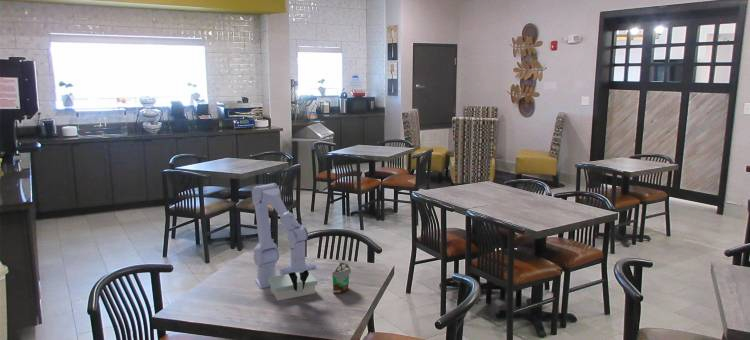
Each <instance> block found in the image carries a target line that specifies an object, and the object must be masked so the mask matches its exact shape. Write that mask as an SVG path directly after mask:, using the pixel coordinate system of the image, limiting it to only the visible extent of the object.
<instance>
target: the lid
mask: <svg viewBox="0 0 750 340" xmlns="http://www.w3.org/2000/svg"><path fill="white" fill-rule="evenodd" d="M296 275H297V291H296V292H297V293H298V292H303V282H302V281H301V280H300V273H299V272H297V273H296ZM268 283H269V284H270V286H271V287H272V288H273V289H274V291H275V292H281V291H286V290H292V289H294V287H293V283H292V281H291V278H290V276H289V275H288V274H286V275H284V276H281V275H276V276H275V277H270V278H268ZM313 285H315V286H317V285H318V279H316V277H314V276H313V275H312V274H311V272H309V276H308V277H307V279H306V282H305V285H304V287H308V286H313Z"/></svg>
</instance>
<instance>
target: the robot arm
mask: <svg viewBox="0 0 750 340" xmlns="http://www.w3.org/2000/svg"><path fill="white" fill-rule="evenodd" d="M251 198H252V204H253V205H254V210H255V217H256V228H257V235H258V236H257V237H258V243H257V245H256V246H255V247H254V248H253V262H254V263H255V265H257V266H256V271H257V272H256V275H257V277H256V279H255V283H256V284H257V285H258V286H259V288H260V289H265V288H270V284H269V283H268V278H270V277H275V276H277V275H276V272H277V271H276V265H277V263H278V261H279V259H280V255H281V254H280V251H279V249H278V244H276V243H275V242H273V241H272V235H271V234H272V233H271V225H270V217H269V207H268V206H269V205H271V206H272V207H273V208H274V210H275V211H276V213H277V214H278V215H279V216H280V218H279V221H280V224H281V225H282V226H283V228H284V230H285V232H286V233H287V235H286V238H287V241H288V245H289V247H290V266H289V267H288V266H287V267H286V268H282V269H279V274H280V275H279V276H284V275H287V274H288V275H289V276H290V278H291V281H292V283H293V287H294V290H295V291H297V275H296V273H298V272H299V273H300V280H301V281H302V282H303V289H304V285H305V282H306V279H307V277H308V276H309V273H310V271H317V264H315V263H311V264H310V263H309V264H308V263H307V264H306V241H307V240H308V237H309V232H308V230H307V228H306V227H305V226H304V225H302V224H300V223H299V221H298V220H297V219H296V216H295V215H294V214H293V212H291V211H288V210H287V207H286V205H285V204H284V202H283V200H282V198H281V190H280V187H279V186H278V185H277V183H275V182H272V183H267V184H263V185H255V186H254V187H252V190H251Z"/></svg>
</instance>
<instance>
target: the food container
mask: <svg viewBox="0 0 750 340" xmlns="http://www.w3.org/2000/svg"><path fill="white" fill-rule="evenodd" d="M351 273H352V269H351V266H350V265H349V264H348V263H345V262H339V265H338V267H336V269H335V271H332V273H331V274H332V288H333V289H332V290H333V291H332V292H333V295H341V294H344V293H347V292H348V291H349V284H350V282H349V281H350V274H351Z"/></svg>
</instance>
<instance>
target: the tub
mask: <svg viewBox="0 0 750 340" xmlns="http://www.w3.org/2000/svg"><path fill="white" fill-rule="evenodd" d="M269 288H270V291H269V292H270V294H272V296H273V297H274V298H275V300H276V301H283V300H288V299H294V298H298V297H303V296H308V295H313V294H316V285H313V286H308V287H304V289H303V292H298V293H297V292H296V291H295V290H294V289H292V290H286V291H281V292H275V291H274V289H273V288H272V287H271V286H270V287H269Z"/></svg>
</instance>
